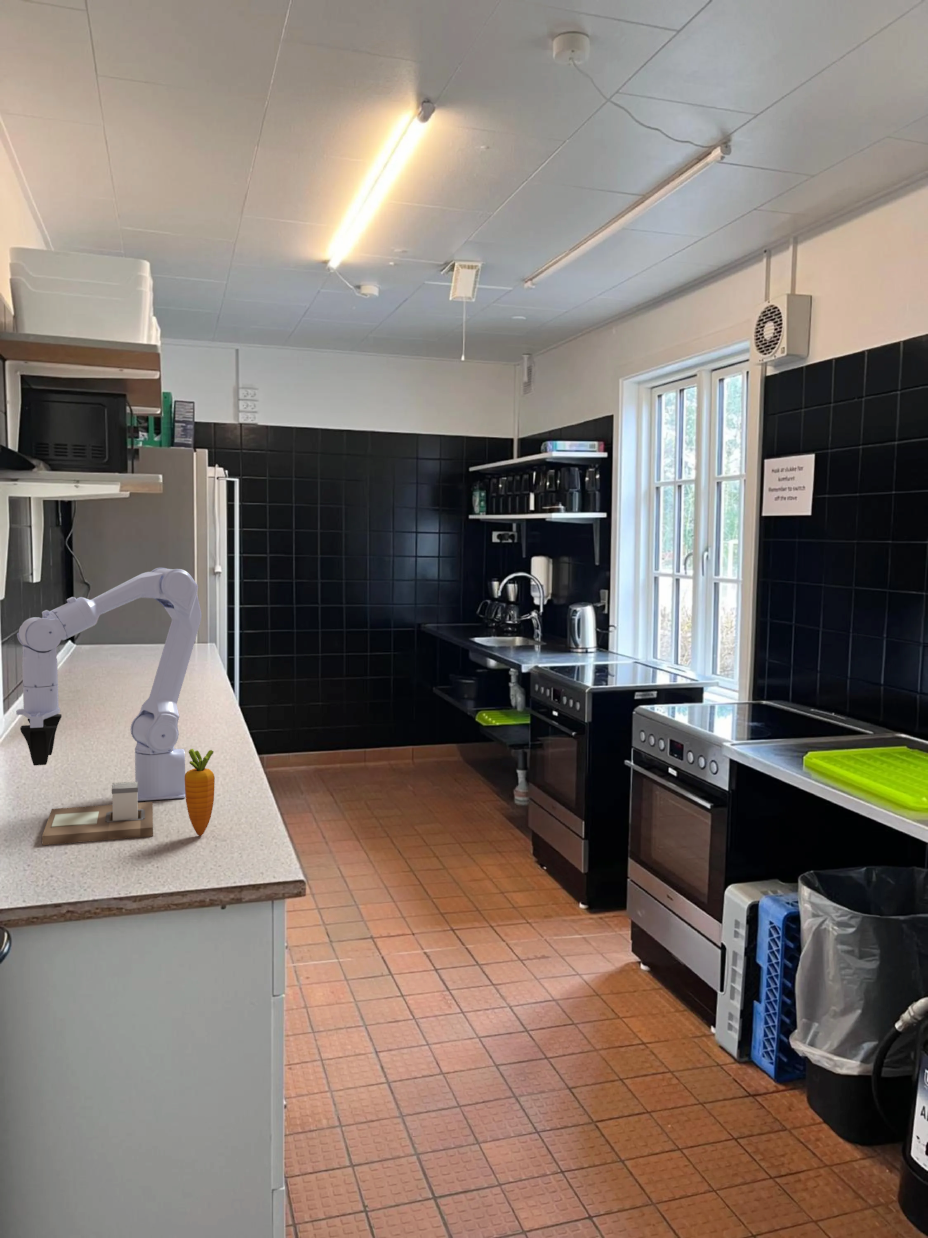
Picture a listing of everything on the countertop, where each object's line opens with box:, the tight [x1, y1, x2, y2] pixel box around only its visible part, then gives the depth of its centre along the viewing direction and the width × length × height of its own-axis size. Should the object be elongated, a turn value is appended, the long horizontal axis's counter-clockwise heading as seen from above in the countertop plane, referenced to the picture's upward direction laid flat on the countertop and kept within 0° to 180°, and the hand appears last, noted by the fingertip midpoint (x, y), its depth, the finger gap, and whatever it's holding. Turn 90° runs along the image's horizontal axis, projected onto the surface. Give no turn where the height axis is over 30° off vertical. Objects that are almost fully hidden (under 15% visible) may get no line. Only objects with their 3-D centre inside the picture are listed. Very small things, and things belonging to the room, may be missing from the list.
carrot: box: [185, 748, 216, 837], centre depth 157 cm, size 5×5×15 cm
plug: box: [111, 781, 139, 821], centre depth 163 cm, size 4×4×7 cm
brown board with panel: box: [41, 801, 154, 846], centre depth 162 cm, size 17×16×2 cm
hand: (42, 759), depth 168 cm, fingers open, 7 cm apart
